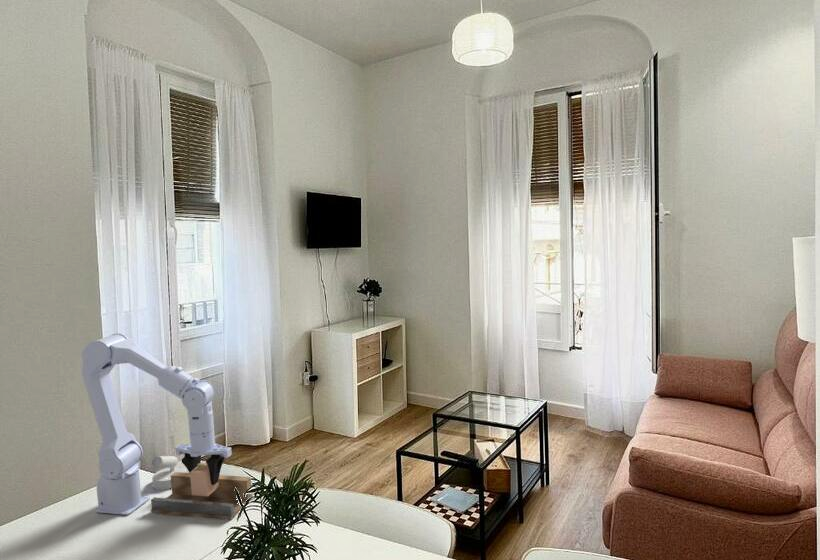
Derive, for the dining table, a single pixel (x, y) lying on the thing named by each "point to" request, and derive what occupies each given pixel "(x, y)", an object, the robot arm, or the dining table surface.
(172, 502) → the lip
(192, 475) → the cabinet block
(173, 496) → the wall board
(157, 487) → the wall hook
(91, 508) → the dining table surface
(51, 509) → the dining table surface
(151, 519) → the dining table surface
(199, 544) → the dining table surface
